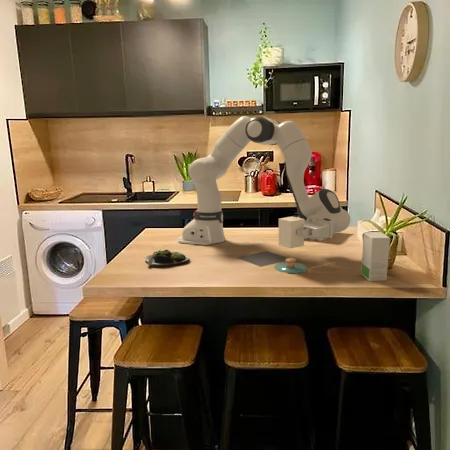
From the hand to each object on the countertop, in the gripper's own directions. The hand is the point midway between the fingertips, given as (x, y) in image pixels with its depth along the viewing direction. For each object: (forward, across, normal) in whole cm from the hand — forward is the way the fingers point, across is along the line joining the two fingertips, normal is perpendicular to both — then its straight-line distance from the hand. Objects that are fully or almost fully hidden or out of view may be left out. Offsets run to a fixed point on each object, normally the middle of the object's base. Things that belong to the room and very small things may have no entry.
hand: (289, 230), depth 173 cm
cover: (-1, 0, +6) cm, 6 cm away
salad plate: (+32, -38, +15) cm, 52 cm away
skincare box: (-17, +25, +15) cm, 34 cm away
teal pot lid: (-1, 0, +15) cm, 15 cm away
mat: (-1, -16, +15) cm, 22 cm away
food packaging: (-45, -35, +15) cm, 59 cm away
